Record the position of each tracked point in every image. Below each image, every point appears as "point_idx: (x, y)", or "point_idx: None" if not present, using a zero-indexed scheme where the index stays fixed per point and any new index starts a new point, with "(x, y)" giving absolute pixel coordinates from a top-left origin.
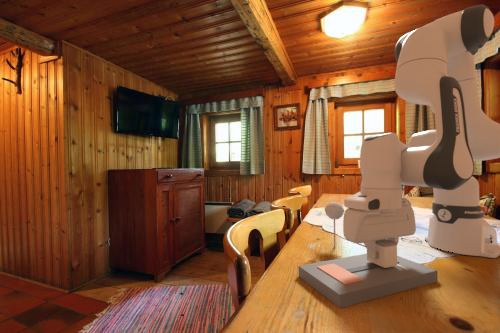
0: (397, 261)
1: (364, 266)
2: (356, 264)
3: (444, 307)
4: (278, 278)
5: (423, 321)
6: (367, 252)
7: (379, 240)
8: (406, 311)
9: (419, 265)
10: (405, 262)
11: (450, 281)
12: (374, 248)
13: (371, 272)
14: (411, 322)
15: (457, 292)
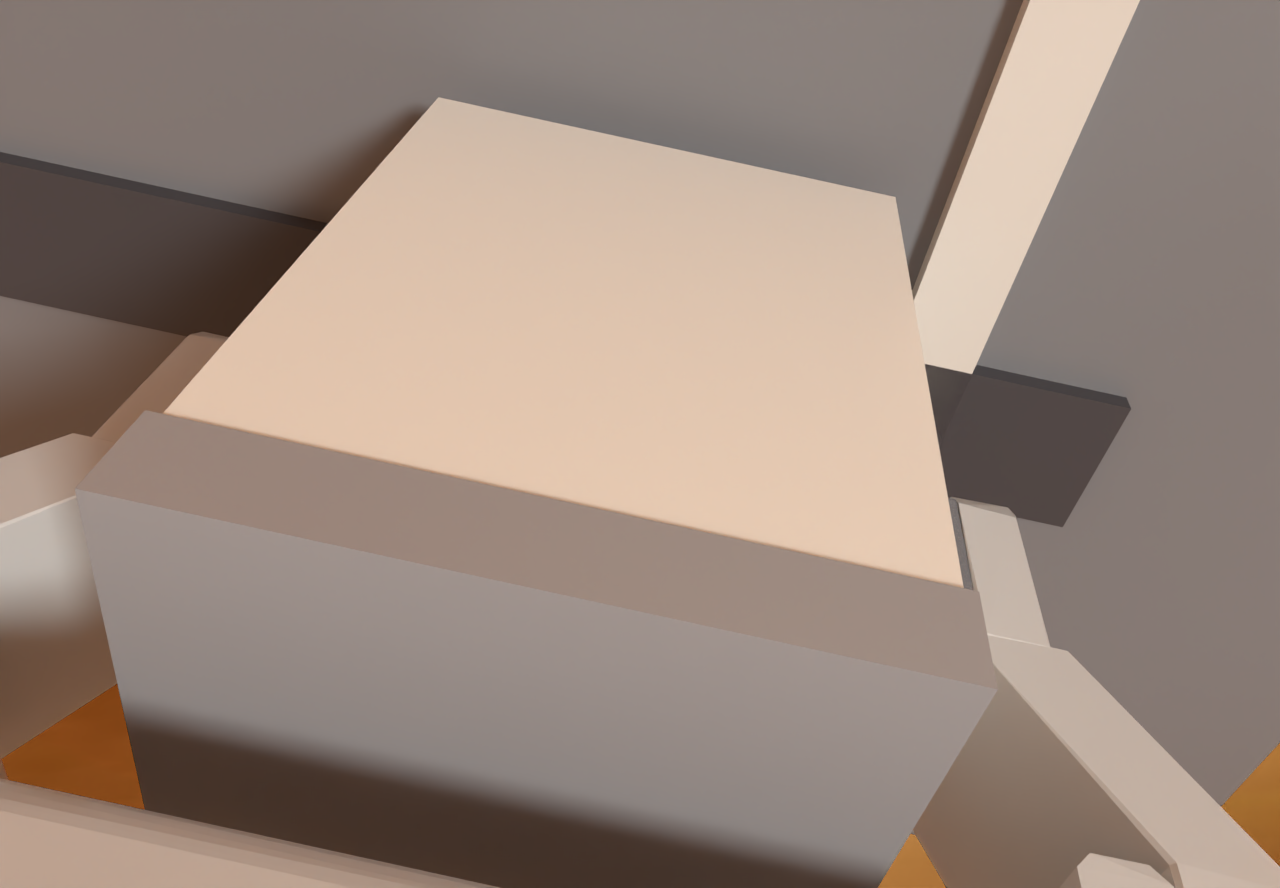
0: (1079, 497)
1: (139, 225)
2: (75, 4)
3: None
4: None
5: (133, 793)
6: (364, 211)
7: (411, 864)
8: (117, 708)
9: (1199, 733)
10: (1188, 575)
11: (1236, 811)
12: (66, 707)
13: (109, 411)
14: (30, 756)
15: (932, 867)
